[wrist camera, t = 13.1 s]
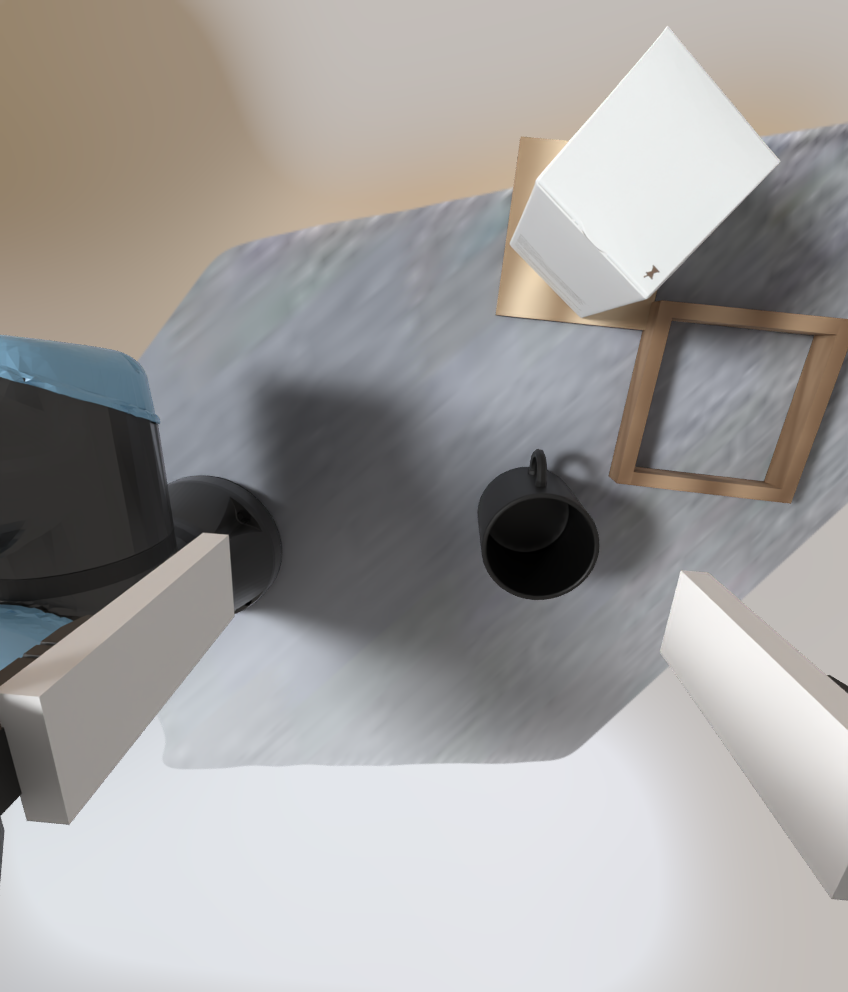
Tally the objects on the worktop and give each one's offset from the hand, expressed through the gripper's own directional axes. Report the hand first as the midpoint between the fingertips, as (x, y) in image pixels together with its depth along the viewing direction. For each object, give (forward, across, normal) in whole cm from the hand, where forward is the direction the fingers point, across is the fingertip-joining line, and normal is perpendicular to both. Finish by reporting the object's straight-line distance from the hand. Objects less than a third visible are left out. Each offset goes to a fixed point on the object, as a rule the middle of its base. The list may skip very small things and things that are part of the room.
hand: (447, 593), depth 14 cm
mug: (+32, +8, -7) cm, 34 cm away
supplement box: (+31, +10, +16) cm, 36 cm away
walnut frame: (+31, +24, +4) cm, 39 cm away
